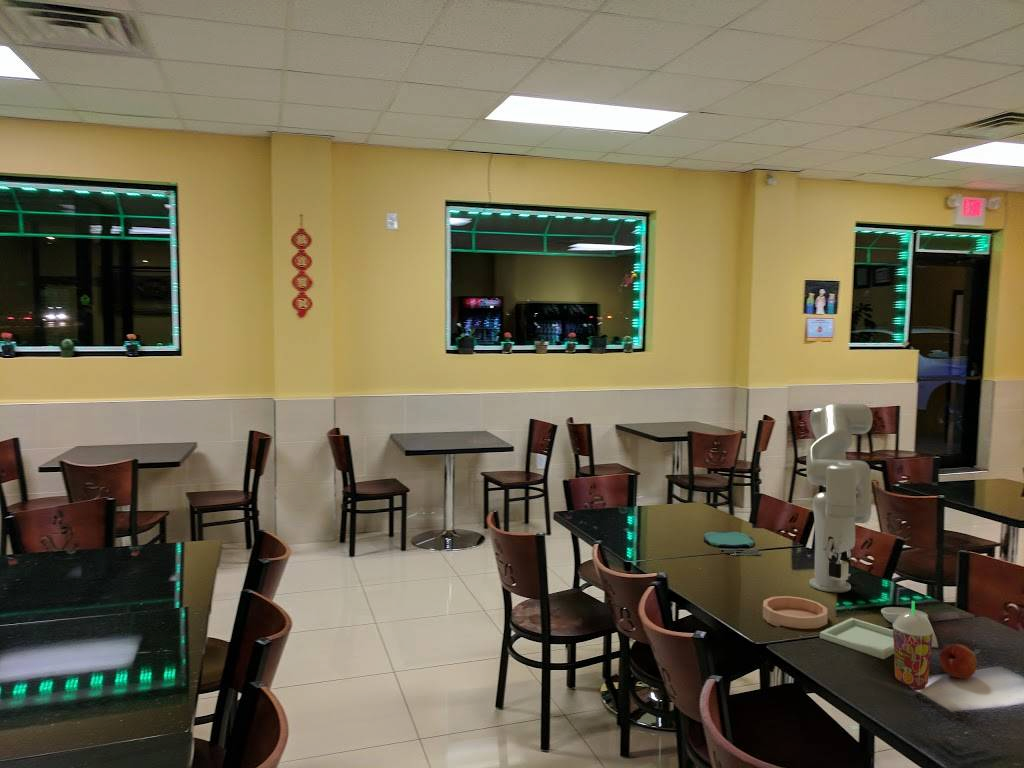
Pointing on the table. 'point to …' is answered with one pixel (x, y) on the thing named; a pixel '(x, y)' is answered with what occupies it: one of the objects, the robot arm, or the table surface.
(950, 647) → the fruit
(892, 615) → the spoon rest
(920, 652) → the smoothie
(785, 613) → the bowl
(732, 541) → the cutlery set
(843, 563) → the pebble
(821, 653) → the table surface
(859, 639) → the tray
